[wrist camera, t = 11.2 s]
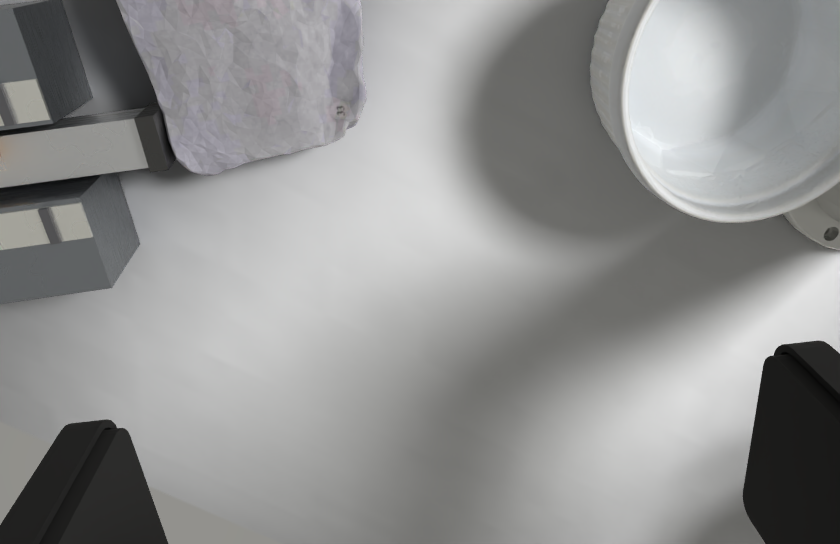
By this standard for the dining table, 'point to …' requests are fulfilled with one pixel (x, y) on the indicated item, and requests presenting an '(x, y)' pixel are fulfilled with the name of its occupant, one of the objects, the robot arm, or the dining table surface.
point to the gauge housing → (61, 199)
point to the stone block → (250, 75)
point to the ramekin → (723, 101)
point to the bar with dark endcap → (86, 147)
